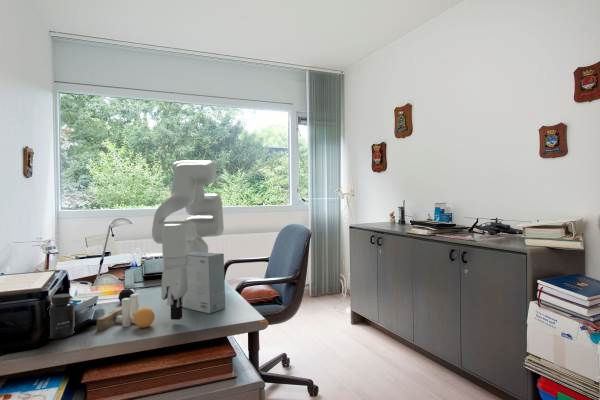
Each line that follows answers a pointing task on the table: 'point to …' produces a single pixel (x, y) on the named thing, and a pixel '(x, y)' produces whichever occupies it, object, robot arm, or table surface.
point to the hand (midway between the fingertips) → (176, 318)
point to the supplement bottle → (61, 316)
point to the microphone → (125, 294)
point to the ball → (144, 317)
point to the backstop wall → (108, 319)
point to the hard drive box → (205, 282)
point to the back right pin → (134, 304)
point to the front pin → (119, 319)
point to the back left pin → (126, 312)
